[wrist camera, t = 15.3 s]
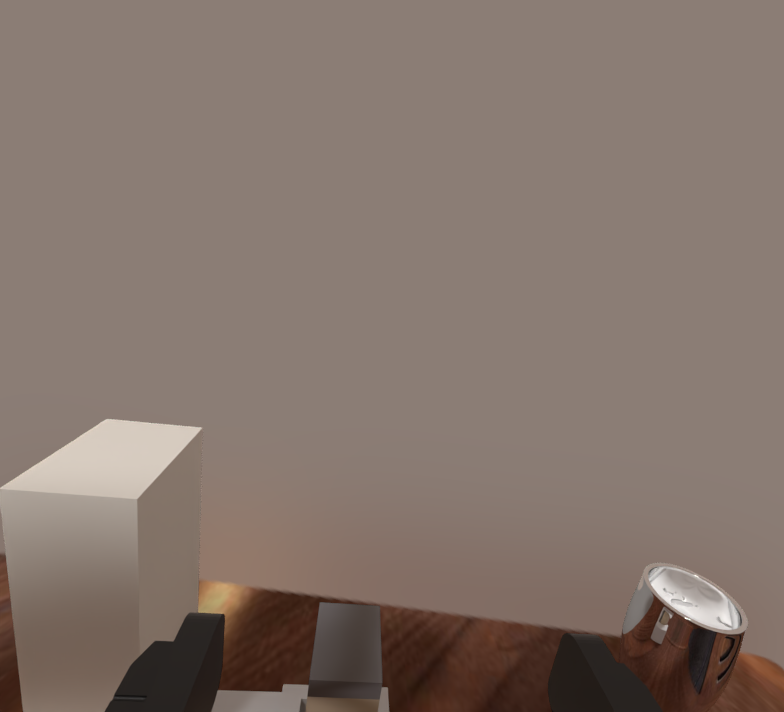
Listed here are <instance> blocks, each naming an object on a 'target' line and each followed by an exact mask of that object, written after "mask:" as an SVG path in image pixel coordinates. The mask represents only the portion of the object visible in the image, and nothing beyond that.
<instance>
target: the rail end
mask: <svg viewBox="0 0 784 712" xmlns="http://www.w3.org/2000/svg"><path fill="white" fill-rule="evenodd" d="M381 689H382V655H381V626H380V606H372V605H356V604H340V603H324V602H320V605H319V612H318V620H317V627H316V634H315V641H314V649H313V656H312V663H311V670H310V678H309V686H308V695H307V704H306V712H378V707H379V701H380V695H381Z"/></svg>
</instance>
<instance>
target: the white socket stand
mask: <svg viewBox="0 0 784 712" xmlns="http://www.w3.org/2000/svg"><path fill="white" fill-rule="evenodd" d="M202 435H203V428H199V427H188V426H178V425H167V424H156V423H146V422H135V421H124V420H113V419H106V420H104V421H103V422H101V423H100V424H98V425H97V426H95V427H94V428H92V429H91V430H89V431H87V432H86V433H84V434H83V435H81V436H80V437H78V438H77V439H75V440H73V441H72V442H70V443H69V444H68V445H66V446H64V447H63V448H61V449H60V450H58V451H57V452H55V453H53V454H52V455H50V456H49V457H47V458H46V459H44V460H43V461H41V462H39V463H38V464H37V465H35V466H33V467H32V468H30V469H29V470H27V471H26V472H24V473H22V474H21V475H20V476H18V477H16V478H15V479H13V480H12V481H10V482H9V483H7V484H5V485H4V486H2V487H1V488H0V505H1V515H2V523H3V533H4V542H5V551H6V560H7V569H8V579H9V588H10V597H11V606H12V615H13V624H14V633H15V642H16V652H17V661H18V670H19V679H20V688H21V697H22V706H23V712H105V710H106V708H107V706H108V705H109V703H110V701H112V700H113V697H114V694H115V692H116V690H117V689H118V687H119V685H120V683H121V681H122V680H123V678H124V676H125V674H126V673H127V671H128V669H129V667H130V665H131V664H132V663H133V662H134V661H135V660H136V659H137V658H138V657H139V656H140V655H141V654H142V653H143V652H144V651H145V650H146V649H147V648H148V647H149V646H150V645H151V644H152V643H153V642H154V641H174V639H175V637H176V635H177V633H178V631H179V629H180V627H181V625H182V623H183V621H184V619H185V617H186V616H187V615H188V613H190V612H192V613H198V592H199V553H200V551H199V550H200V514H201V512H200V511H201V474H202V472H201V471H202ZM308 686H309V685H294V684H283V689H282V692H262V691H228V690H218V691H217V695H216V698H215V702H214V705H213V708H212V711H211V712H306V704H307V695H308ZM378 712H389V700H388V687H382V689H381V695H380V701H379V707H378Z"/></svg>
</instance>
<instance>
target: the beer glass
mask: <svg viewBox="0 0 784 712" xmlns="http://www.w3.org/2000/svg"><path fill="white" fill-rule="evenodd" d="M747 627H748V620H747V617H746V615H745V613H744V611H743V610H742V608H741V607H740V606H739V604H738V603H737V602H736V601H735V600H734V599H733V598H732V597H731V596H730V595H729V594H727V593H726V592H725V591H724V590H722V589H721V588H720V587H718V586H717V585H716V584H714V583H713V582H711V581H709V580H708V579H706V578H704V577H702V576H701V575H699V574H697V573H694V572H692V571H690V570H688V569H685V568H682V567H679V566H676V565H672V564H667V563H653V564H650V565H648V566H647V567H646V568H645V569H644V572H643V575H642V577H641V580H640V581H639V584H638V585H637V588H636V590H635V592H634V594H633V596H632V599H631V602H630V604H629V607H628V609H627V613H626V616H625V620H624V623H623V629H622V635H621V643H620V653H619V663H624V664H625V665H626V666H627V667H628V668H629V669H630V670H631V671H632V672H633V673H634V674H635V675H636V676H637V677H638V678H639V679H640V680H641V681H642V682H643V683H644V684H645V685H646V686H647V688H648V689H649V691H650V692H651V694H652V695H653V697H654V698H655V700H656V702H657V703H658V705H659V706H660V708H661V709H662V711H663V712H708V711H709V710H710V708H711V707H712V706H713V705H714V704H715V703H716V701H717V700H718V698H719V697H720V696H721V694H722V693H723V691H724V690H725V688H726V686H727V684H728V682H729V680H730V678H731V676H732V673H733V671H734V668H735V665H736V662H737V660H738V656H739V653H740V649H741V646H742V641H743V638H744V634H745V631H746V629H747Z"/></svg>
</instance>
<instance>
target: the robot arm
mask: <svg viewBox="0 0 784 712" xmlns="http://www.w3.org/2000/svg"><path fill="white" fill-rule="evenodd" d="M224 624H225V616H224V614H211V613H192V612H190V613H188V615H187V616H186V617H185V619H184V621H183V623H182V625H181V627H180V629H179V631H178V633H177V635H176V637H175V639H174V641H154V642H153V643H152V644H151V645H150V646H149V647H148V648H147V649H146V650H145V651H144V652H143V653H142V654H141V655H140V656H139V657H138V658H137V659H136V660H135V661H134V662H133V663H132V664H131V665H130V667H129V669H128V671H127V673H126V674H125V676H124V678H123V680H122V681H121V683H120V685H119V687H118V689H117V690H116V692H115V694H114V697H113V700H112V701H110V703H109V705H108V706H107V708H106V710H105V712H211V711H212V708H213V705H214V702H215V698H216V695H217V691H218V687H219V683H220V678H221V672H222V663H223V644H224ZM548 694H549V701H550V705H551V709H552V712H663V711H662V709H661V708H660V706H659V705H658V703H657V702H656V700H655V698H654V697H653V695H652V694H651V692H650V691H649V689H648V688H647V686H646V685H645V684H644V683H643V682H642V681H641V680H640V679H639V678H638V677H637V676H636V675H635V674H634V673H633V672H632V671H631V670H630V669H629V668H628V667H627V666H626V665H625V664H624V663H617V662H616V661H615V659H614V657H613V656H612V654H611V653H610V651H609V649H608V648H607V646H606V644H605V643H604V641H603V640H602V639H601V638H600V637H599V636H597V635H589V634H570V633H566V634H564V635H563V636H562V639H561V641H560V645H559V648H558V651H557V654H556V658H555V661H554V664H553V667H552V671H551V674H550V677H549V682H548Z"/></svg>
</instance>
